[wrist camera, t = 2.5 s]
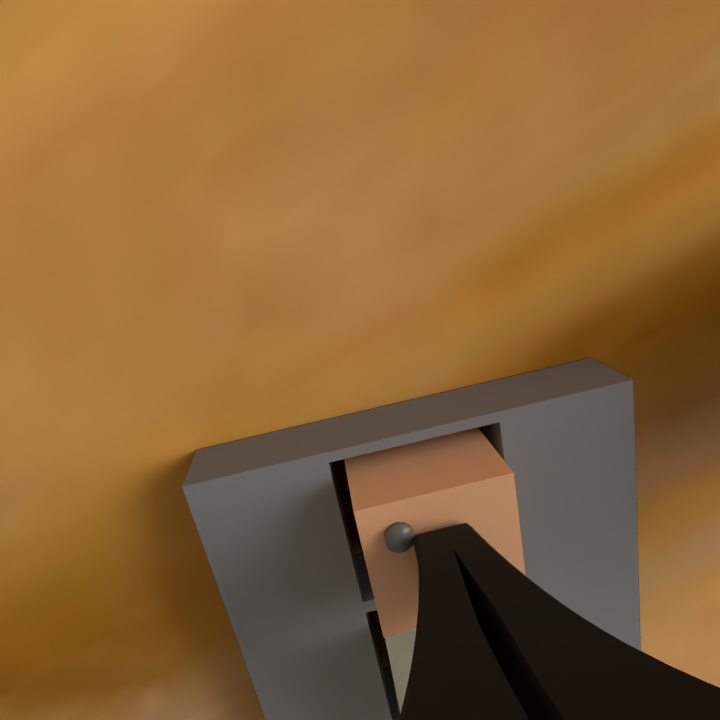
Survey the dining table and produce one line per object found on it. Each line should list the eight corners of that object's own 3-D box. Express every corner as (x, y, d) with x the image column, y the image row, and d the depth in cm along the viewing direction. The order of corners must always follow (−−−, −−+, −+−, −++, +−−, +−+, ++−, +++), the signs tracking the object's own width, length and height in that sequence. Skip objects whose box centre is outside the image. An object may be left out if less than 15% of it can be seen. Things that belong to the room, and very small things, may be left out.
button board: (611, 715, 20) (644, 768, 18) (314, 796, 19) (316, 860, 18) (591, 357, 15) (633, 379, 13) (196, 449, 15) (181, 486, 13)
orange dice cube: (482, 521, 16) (532, 606, 13) (366, 550, 16) (384, 644, 13) (467, 414, 15) (517, 477, 12) (341, 443, 15) (354, 516, 11)
